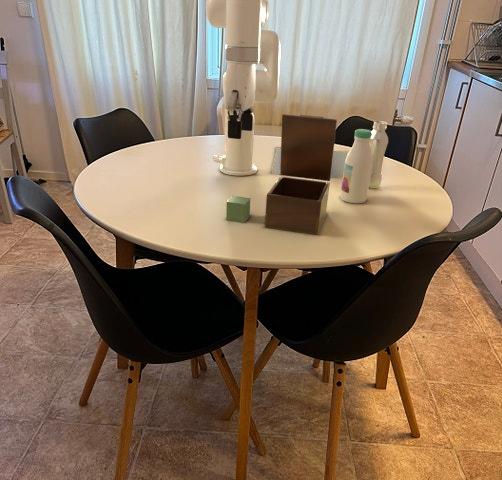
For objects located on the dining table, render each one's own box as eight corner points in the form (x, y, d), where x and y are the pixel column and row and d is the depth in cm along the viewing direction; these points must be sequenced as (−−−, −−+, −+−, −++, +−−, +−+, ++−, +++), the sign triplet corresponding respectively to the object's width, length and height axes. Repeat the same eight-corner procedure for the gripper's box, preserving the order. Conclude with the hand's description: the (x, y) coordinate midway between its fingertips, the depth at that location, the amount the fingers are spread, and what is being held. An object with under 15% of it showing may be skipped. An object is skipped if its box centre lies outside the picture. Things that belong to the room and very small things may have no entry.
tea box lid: (336, 120, 116) (339, 112, 120) (282, 115, 119) (286, 107, 123) (329, 181, 127) (332, 172, 131) (280, 175, 130) (284, 166, 134)
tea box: (317, 235, 119) (321, 201, 114) (264, 227, 122) (266, 194, 117) (326, 213, 132) (329, 182, 127) (278, 206, 135) (280, 176, 130)
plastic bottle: (380, 190, 150) (392, 125, 140) (358, 188, 151) (369, 123, 141) (380, 184, 156) (391, 120, 145) (358, 182, 157) (369, 119, 146)
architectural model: (355, 179, 160) (361, 135, 152) (271, 173, 161) (273, 130, 154) (347, 151, 190) (352, 114, 182) (276, 147, 191) (279, 110, 184)
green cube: (226, 219, 125) (226, 201, 123) (232, 213, 129) (232, 195, 127) (244, 222, 124) (245, 204, 122) (249, 215, 128) (250, 197, 126)
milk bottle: (367, 197, 145) (379, 129, 134) (364, 205, 138) (376, 135, 128) (342, 193, 147) (351, 126, 136) (338, 201, 140) (347, 131, 130)
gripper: (237, 52, 115) (236, 126, 123) (213, 57, 100) (213, 140, 109) (268, 54, 113) (264, 128, 122) (248, 59, 99) (245, 143, 107)
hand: (240, 134), depth 115 cm, fingers open, 9 cm apart
